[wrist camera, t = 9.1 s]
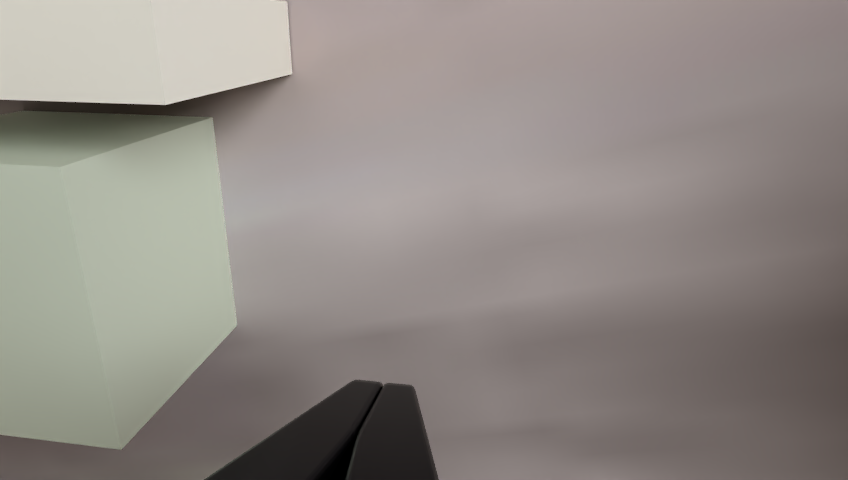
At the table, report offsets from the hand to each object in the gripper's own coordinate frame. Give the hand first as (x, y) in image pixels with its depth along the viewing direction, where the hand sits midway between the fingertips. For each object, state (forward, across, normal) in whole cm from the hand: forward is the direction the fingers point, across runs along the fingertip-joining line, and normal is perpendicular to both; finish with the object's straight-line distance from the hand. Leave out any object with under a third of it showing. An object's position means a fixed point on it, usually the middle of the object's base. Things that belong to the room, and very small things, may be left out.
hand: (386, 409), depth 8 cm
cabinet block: (+6, +8, 0) cm, 10 cm away
